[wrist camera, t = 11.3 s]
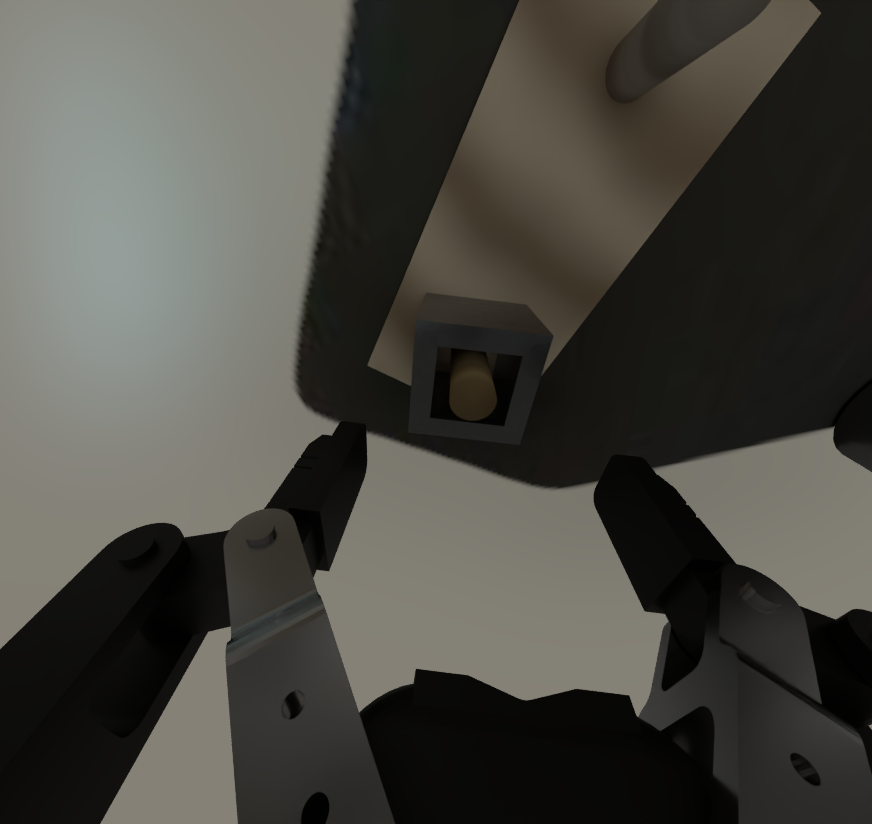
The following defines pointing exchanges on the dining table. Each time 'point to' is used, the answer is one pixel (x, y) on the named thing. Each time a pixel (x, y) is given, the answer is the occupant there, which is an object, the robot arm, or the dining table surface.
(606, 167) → the board
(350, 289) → the dining table surface
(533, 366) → the collar
